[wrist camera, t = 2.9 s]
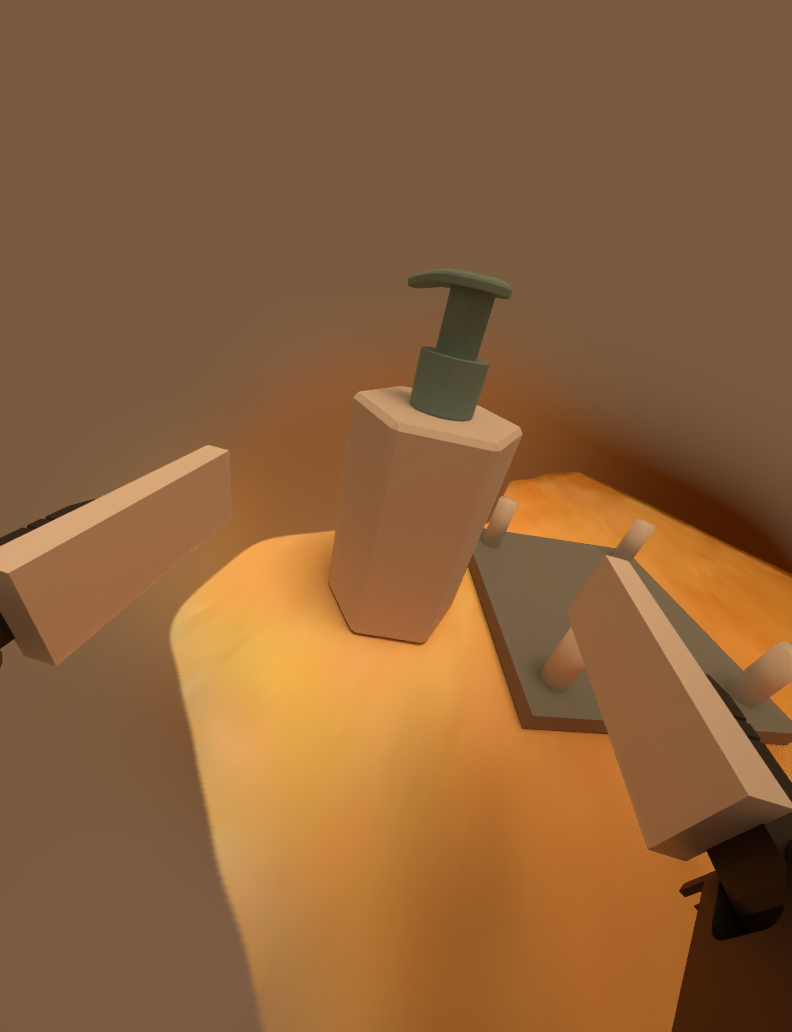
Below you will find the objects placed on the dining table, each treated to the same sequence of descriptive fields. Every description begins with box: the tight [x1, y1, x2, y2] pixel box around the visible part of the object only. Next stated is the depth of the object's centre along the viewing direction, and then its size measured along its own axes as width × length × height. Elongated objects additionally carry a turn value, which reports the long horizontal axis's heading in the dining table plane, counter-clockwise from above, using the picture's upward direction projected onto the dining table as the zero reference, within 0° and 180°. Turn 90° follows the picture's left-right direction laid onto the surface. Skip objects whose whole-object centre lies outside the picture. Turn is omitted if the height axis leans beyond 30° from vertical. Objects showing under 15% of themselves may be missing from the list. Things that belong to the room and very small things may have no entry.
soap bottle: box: [329, 269, 522, 643], centre depth 22 cm, size 10×9×22 cm
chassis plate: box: [468, 496, 792, 745], centre depth 29 cm, size 20×20×6 cm
